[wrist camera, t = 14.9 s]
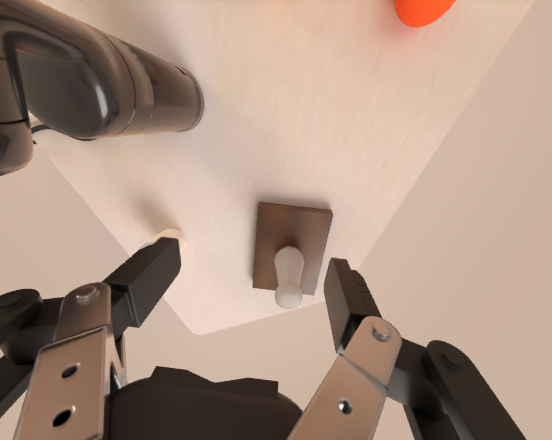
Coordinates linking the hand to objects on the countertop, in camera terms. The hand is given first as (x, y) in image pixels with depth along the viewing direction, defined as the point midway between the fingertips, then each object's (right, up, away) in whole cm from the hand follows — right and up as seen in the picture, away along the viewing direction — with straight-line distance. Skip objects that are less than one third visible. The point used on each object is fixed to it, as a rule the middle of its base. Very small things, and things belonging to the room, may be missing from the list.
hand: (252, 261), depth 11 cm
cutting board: (+4, -4, +35) cm, 35 cm away
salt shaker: (+4, -5, +33) cm, 34 cm away
